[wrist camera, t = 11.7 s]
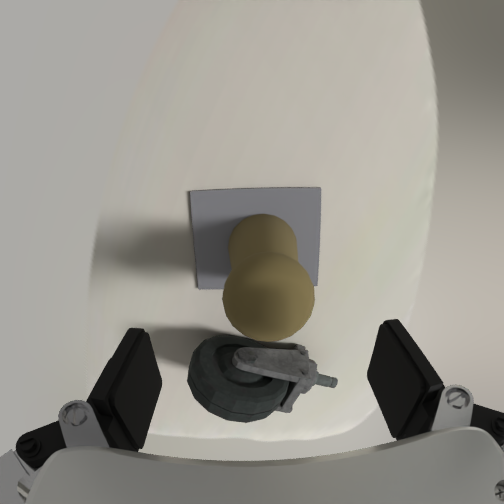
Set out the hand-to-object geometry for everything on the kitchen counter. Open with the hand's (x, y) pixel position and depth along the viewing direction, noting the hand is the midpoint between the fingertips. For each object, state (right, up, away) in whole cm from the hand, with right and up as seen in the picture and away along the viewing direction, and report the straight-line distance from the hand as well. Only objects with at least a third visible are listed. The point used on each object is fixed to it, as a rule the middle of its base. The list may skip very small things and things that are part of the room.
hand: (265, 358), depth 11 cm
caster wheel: (+1, -7, +19) cm, 20 cm away
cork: (0, +5, +14) cm, 15 cm away
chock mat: (0, +5, +14) cm, 15 cm away
